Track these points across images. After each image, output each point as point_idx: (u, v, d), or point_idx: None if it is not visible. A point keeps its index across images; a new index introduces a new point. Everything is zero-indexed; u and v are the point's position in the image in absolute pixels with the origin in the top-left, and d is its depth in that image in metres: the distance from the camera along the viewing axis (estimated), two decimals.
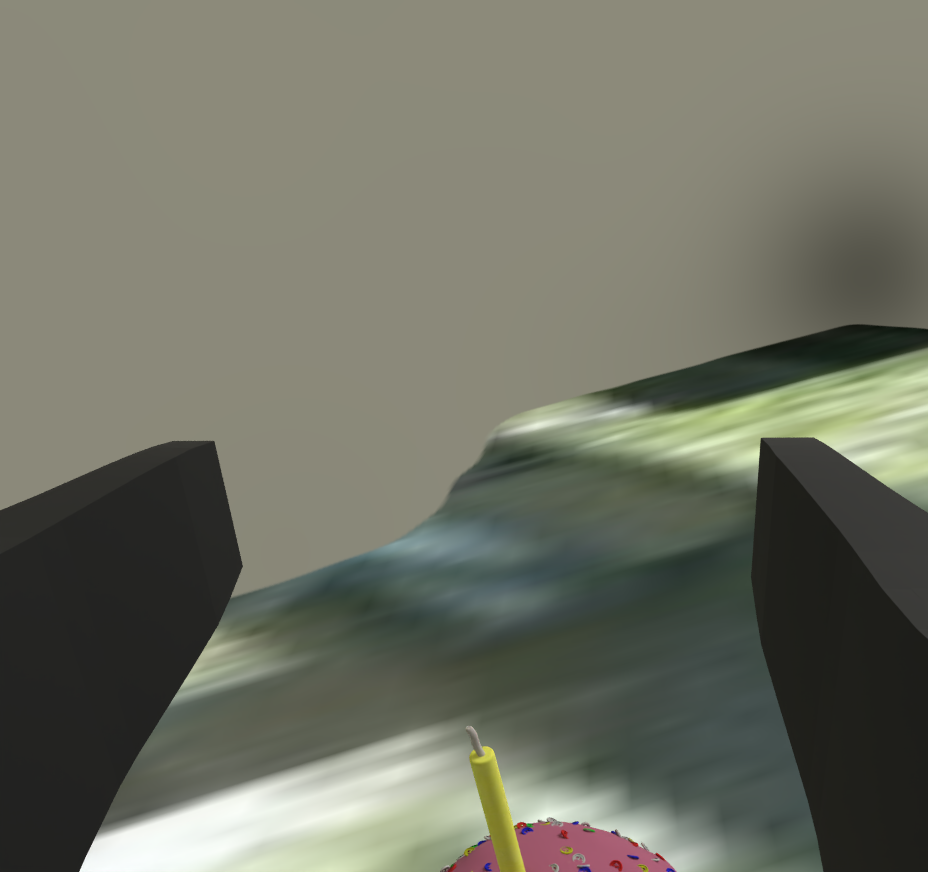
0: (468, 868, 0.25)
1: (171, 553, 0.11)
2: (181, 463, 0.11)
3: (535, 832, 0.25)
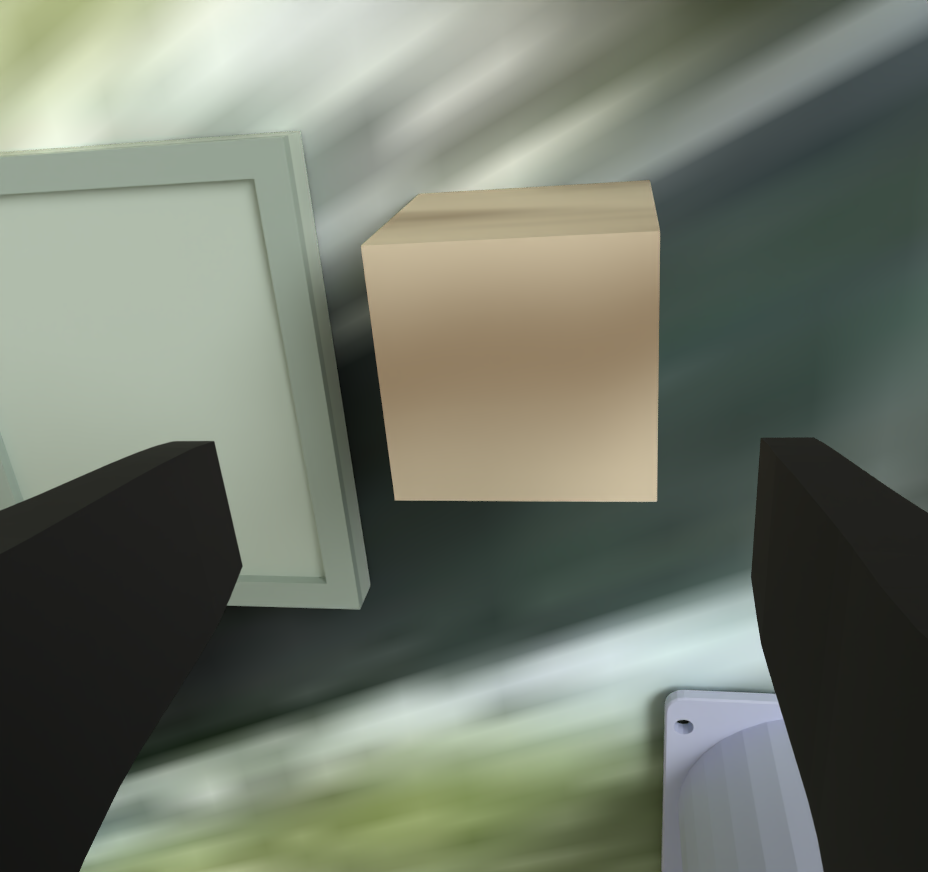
0: None
1: (171, 553, 0.11)
2: (181, 463, 0.11)
3: None
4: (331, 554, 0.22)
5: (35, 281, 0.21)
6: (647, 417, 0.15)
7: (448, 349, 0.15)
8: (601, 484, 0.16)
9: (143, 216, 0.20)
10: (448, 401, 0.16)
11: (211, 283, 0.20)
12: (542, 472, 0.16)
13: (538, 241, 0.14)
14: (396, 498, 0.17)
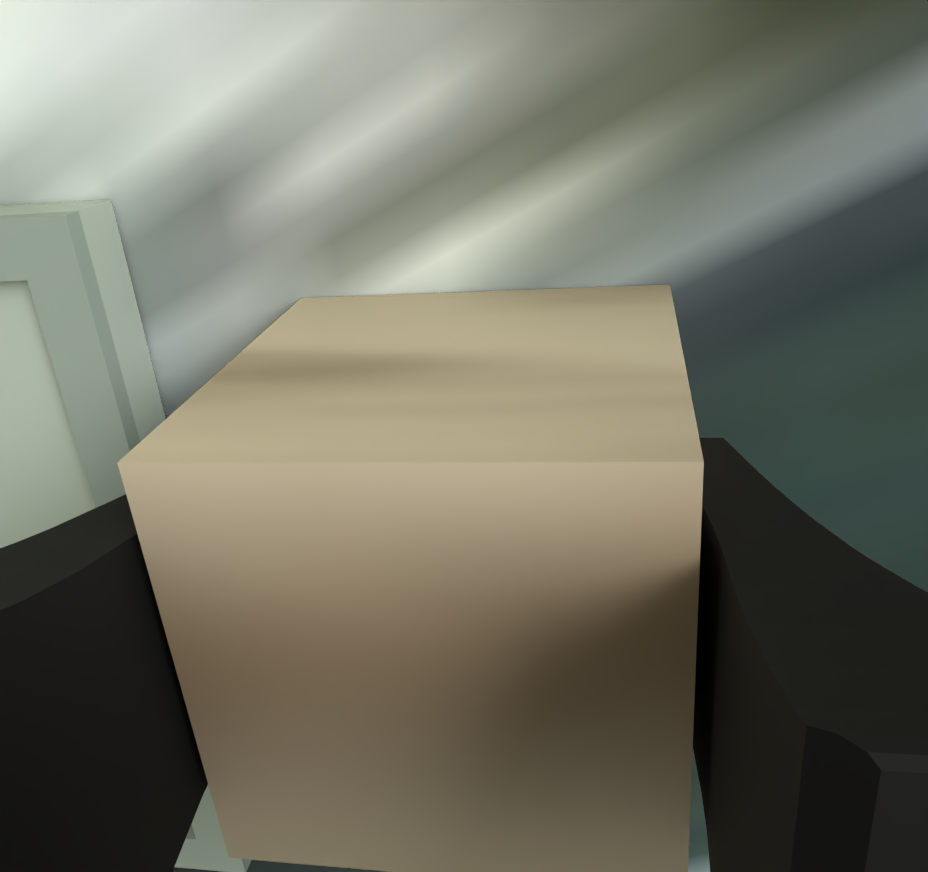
0: None
1: None
2: None
3: None
4: None
5: None
6: (671, 772, 0.08)
7: (297, 642, 0.08)
8: (587, 865, 0.09)
9: None
10: (306, 721, 0.09)
11: None
12: (480, 839, 0.09)
13: (456, 470, 0.07)
14: (231, 856, 0.10)
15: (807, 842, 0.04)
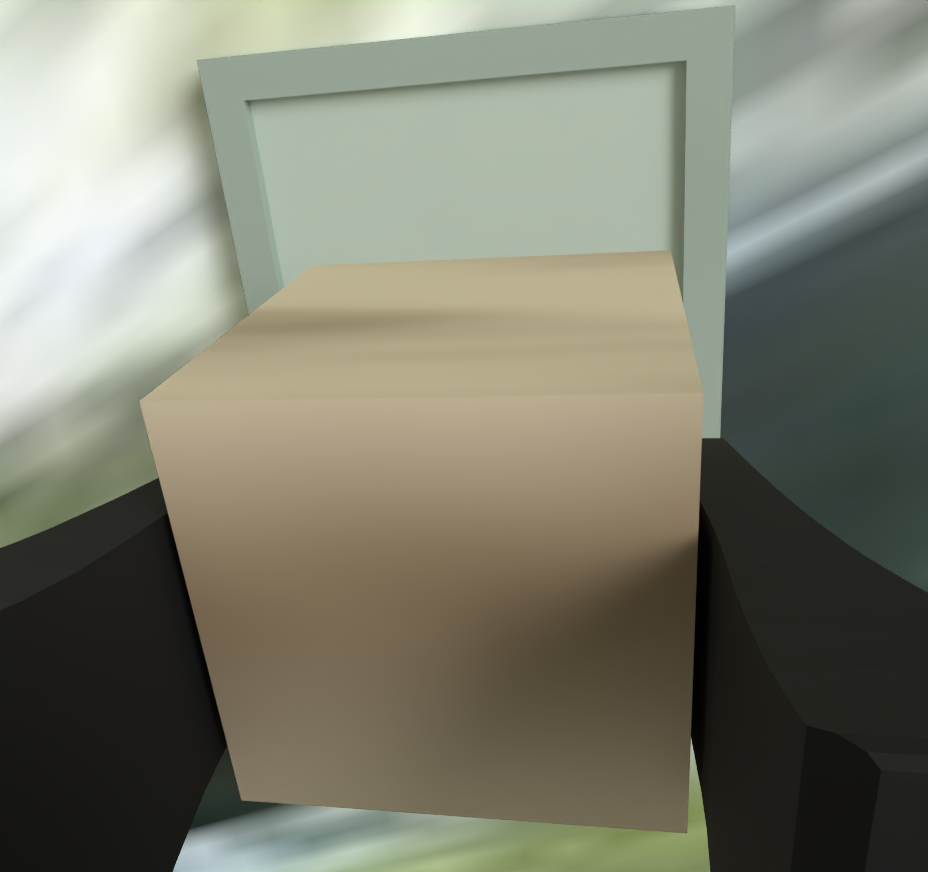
0: None
1: None
2: None
3: None
4: None
5: (376, 199, 0.18)
6: (672, 705, 0.08)
7: (311, 578, 0.09)
8: (590, 802, 0.09)
9: (527, 114, 0.16)
10: (319, 661, 0.09)
11: (598, 195, 0.17)
12: (486, 777, 0.09)
13: (466, 405, 0.07)
14: (243, 798, 0.10)
15: (807, 844, 0.04)
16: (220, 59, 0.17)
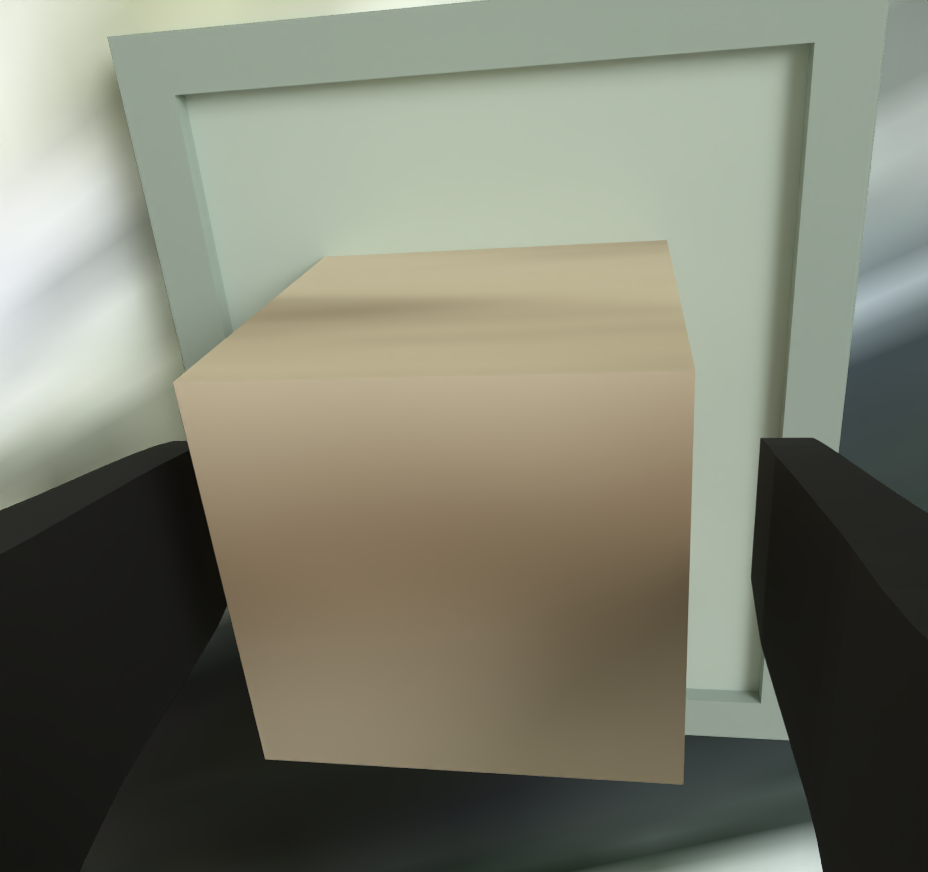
0: None
1: (171, 553, 0.11)
2: (181, 463, 0.11)
3: None
4: None
5: (361, 233, 0.13)
6: (669, 663, 0.09)
7: (332, 549, 0.09)
8: (593, 756, 0.10)
9: (576, 119, 0.12)
10: (338, 624, 0.10)
11: (673, 233, 0.12)
12: (495, 733, 0.10)
13: (475, 383, 0.08)
14: (267, 757, 0.11)
15: None
16: (140, 36, 0.12)
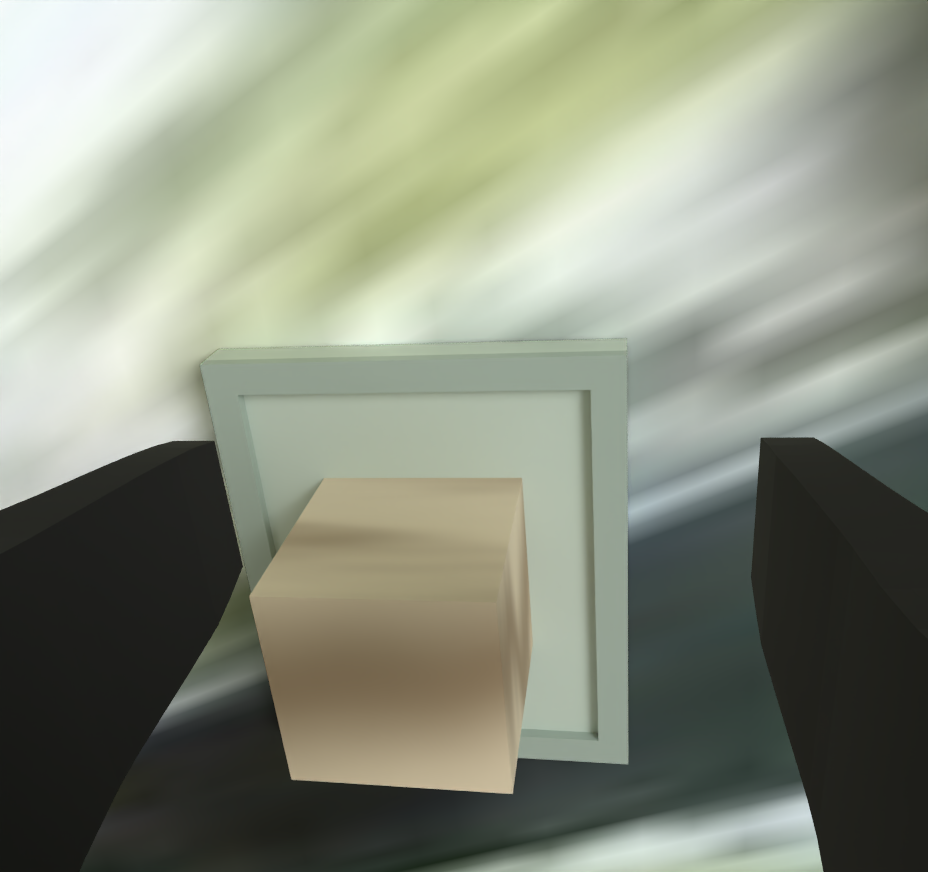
0: None
1: (171, 553, 0.11)
2: (181, 463, 0.11)
3: None
4: (607, 715, 0.23)
5: (345, 466, 0.22)
6: (498, 732, 0.18)
7: (327, 674, 0.18)
8: (465, 778, 0.19)
9: (466, 414, 0.20)
10: (331, 711, 0.18)
11: (525, 474, 0.21)
12: (414, 766, 0.19)
13: (396, 603, 0.17)
14: (292, 778, 0.19)
15: None
16: (218, 365, 0.21)
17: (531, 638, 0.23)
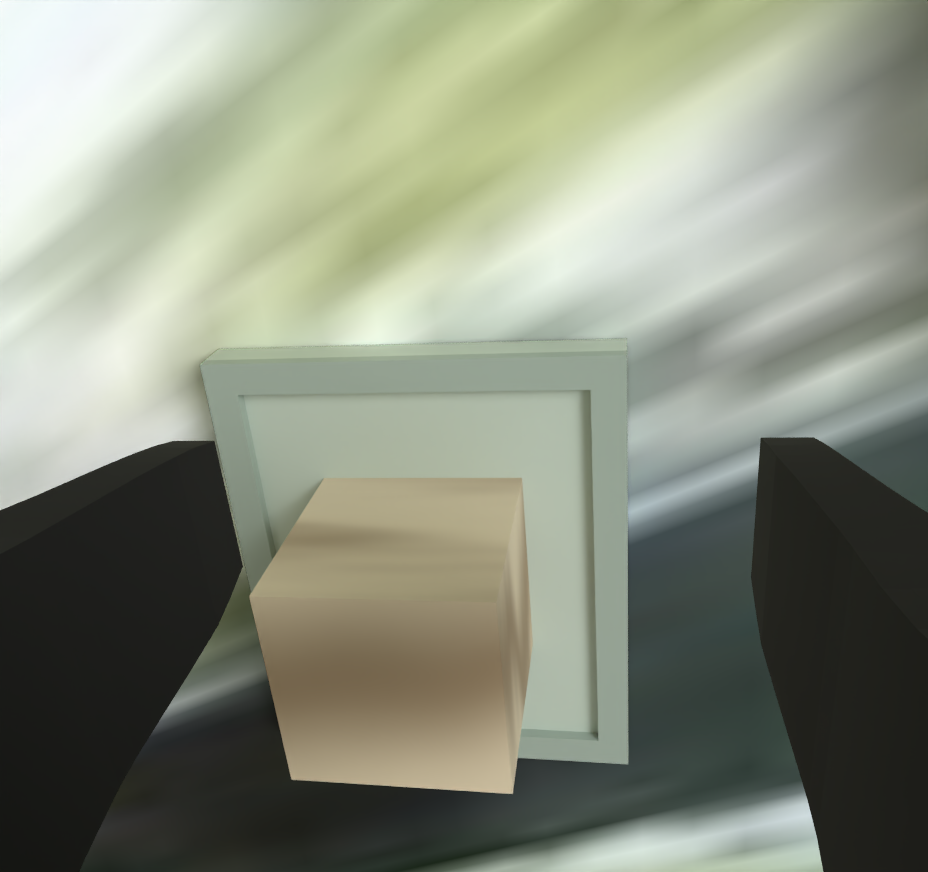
0: None
1: (171, 553, 0.11)
2: (181, 463, 0.11)
3: None
4: (607, 715, 0.23)
5: (345, 466, 0.22)
6: (498, 732, 0.18)
7: (327, 674, 0.18)
8: (465, 778, 0.19)
9: (466, 414, 0.20)
10: (331, 711, 0.18)
11: (525, 474, 0.21)
12: (414, 766, 0.19)
13: (396, 603, 0.17)
14: (292, 778, 0.19)
15: None
16: (218, 365, 0.21)
17: (531, 638, 0.23)
